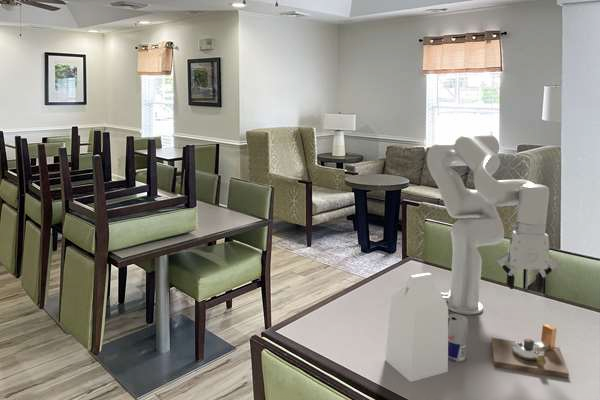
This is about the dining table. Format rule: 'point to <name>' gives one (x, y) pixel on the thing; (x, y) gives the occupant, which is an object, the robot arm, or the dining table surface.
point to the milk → (418, 329)
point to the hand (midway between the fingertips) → (524, 287)
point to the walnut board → (545, 363)
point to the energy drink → (457, 337)
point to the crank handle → (537, 344)
